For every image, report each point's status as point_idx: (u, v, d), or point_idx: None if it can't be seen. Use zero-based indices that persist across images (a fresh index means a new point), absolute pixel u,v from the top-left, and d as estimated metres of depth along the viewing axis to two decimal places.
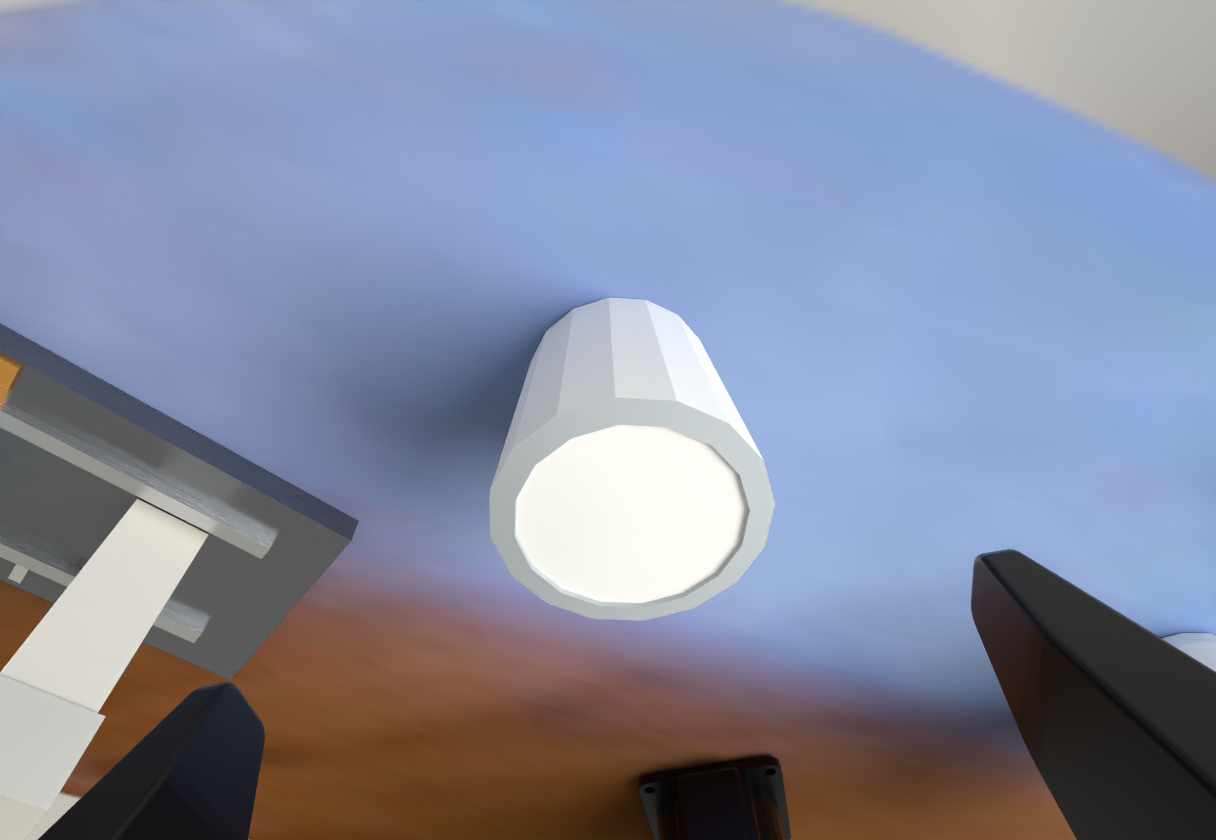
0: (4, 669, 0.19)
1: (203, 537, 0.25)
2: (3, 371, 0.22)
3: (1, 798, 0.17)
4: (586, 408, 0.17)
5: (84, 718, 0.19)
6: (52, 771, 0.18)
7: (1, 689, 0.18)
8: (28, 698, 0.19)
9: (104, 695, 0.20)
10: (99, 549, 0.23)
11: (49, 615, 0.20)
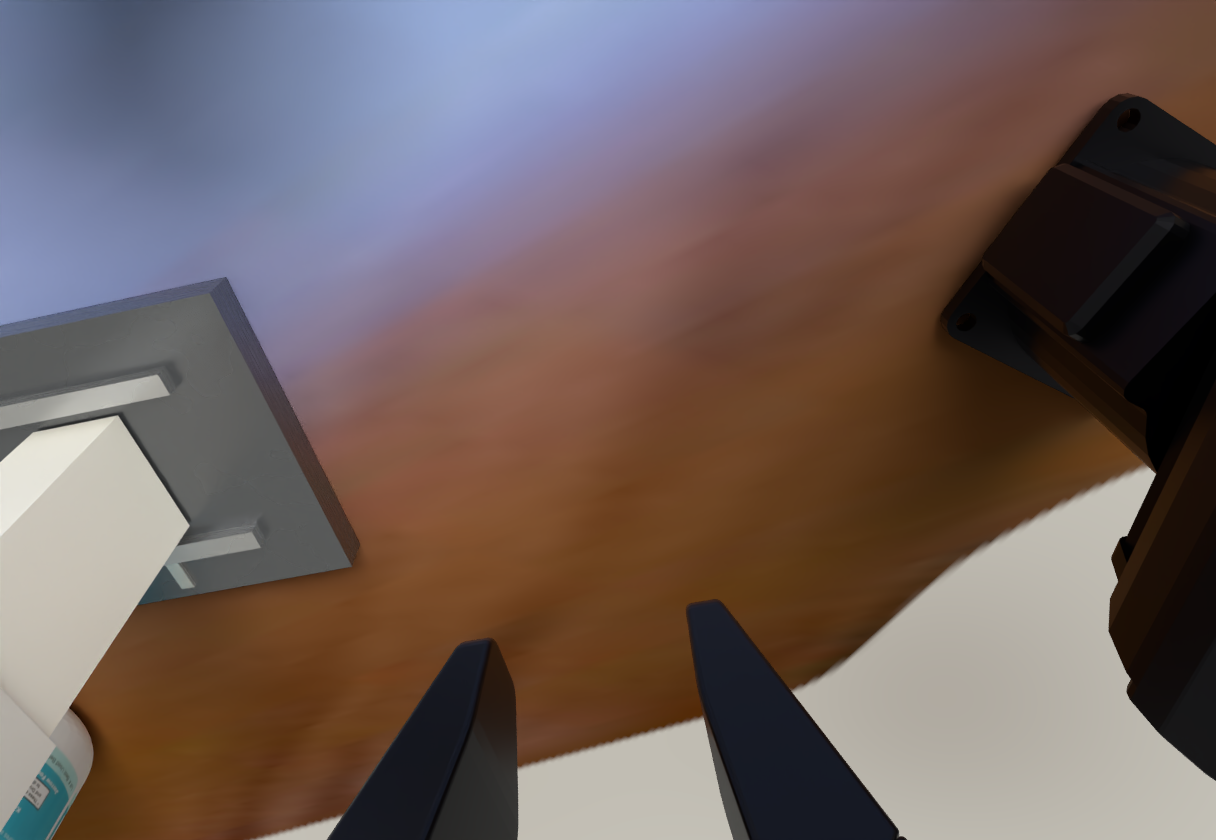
0: None
1: (110, 420, 0.20)
2: None
3: None
4: None
5: None
6: None
7: None
8: None
9: None
10: None
11: None
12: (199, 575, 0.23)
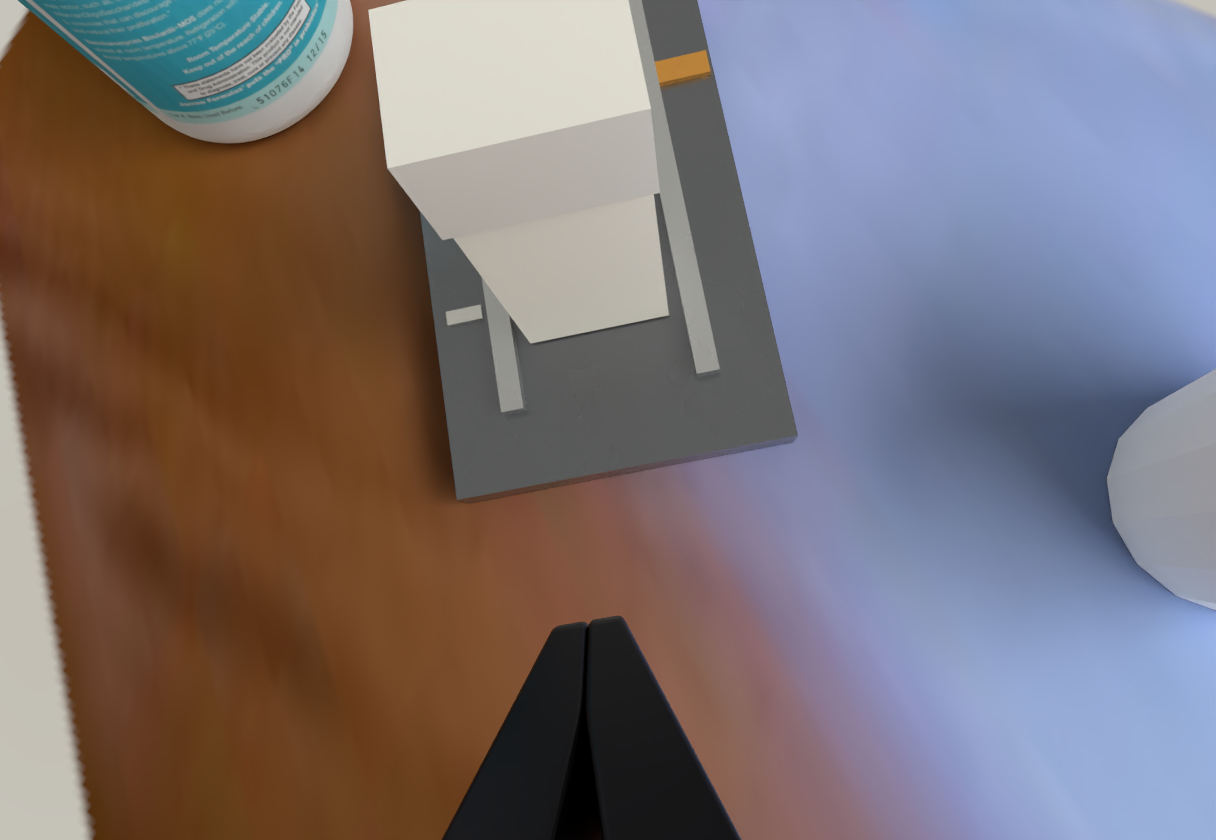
0: None
1: (667, 309, 0.20)
2: (696, 64, 0.22)
3: (629, 53, 0.11)
4: None
5: None
6: None
7: None
8: None
9: (653, 194, 0.14)
10: None
11: None
12: (460, 334, 0.21)
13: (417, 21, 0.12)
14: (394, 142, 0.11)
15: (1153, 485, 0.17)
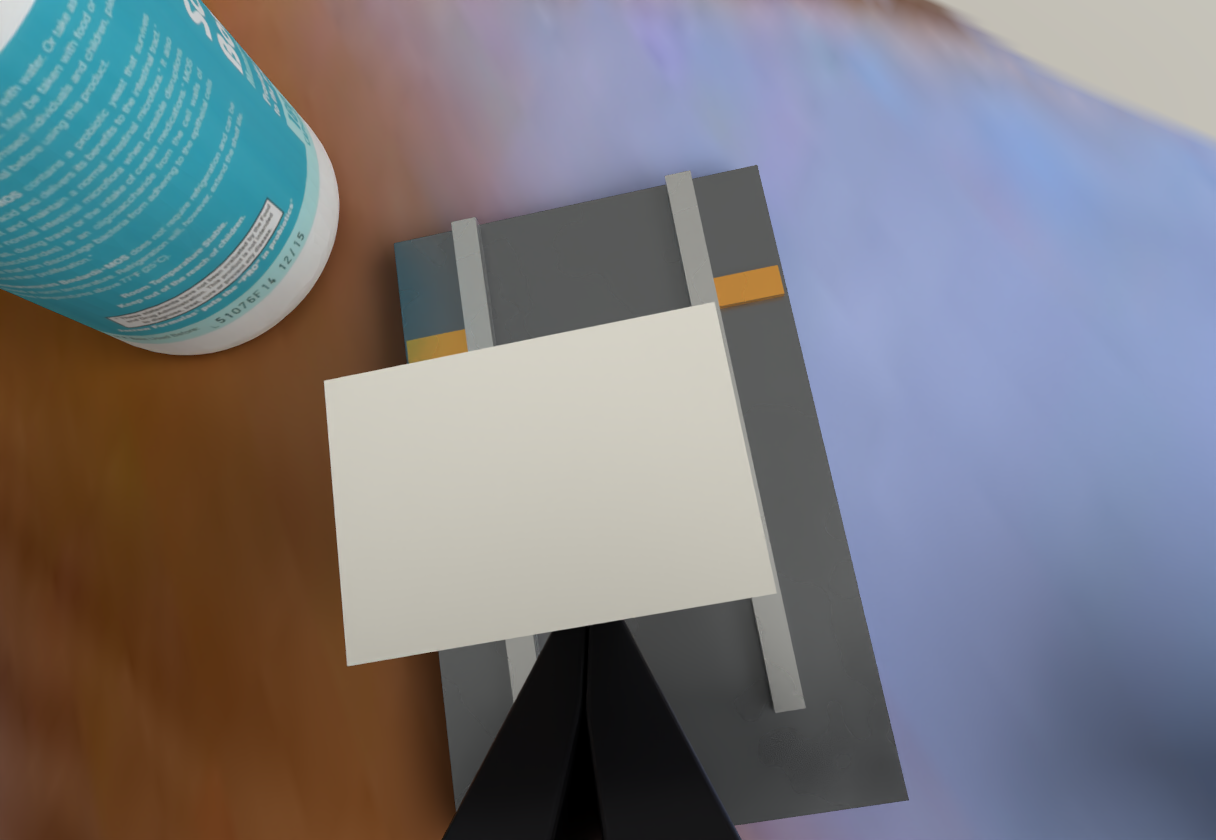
0: None
1: None
2: (766, 283, 0.17)
3: (738, 489, 0.07)
4: None
5: None
6: None
7: None
8: None
9: None
10: None
11: None
12: None
13: (399, 406, 0.08)
14: (359, 619, 0.07)
15: None
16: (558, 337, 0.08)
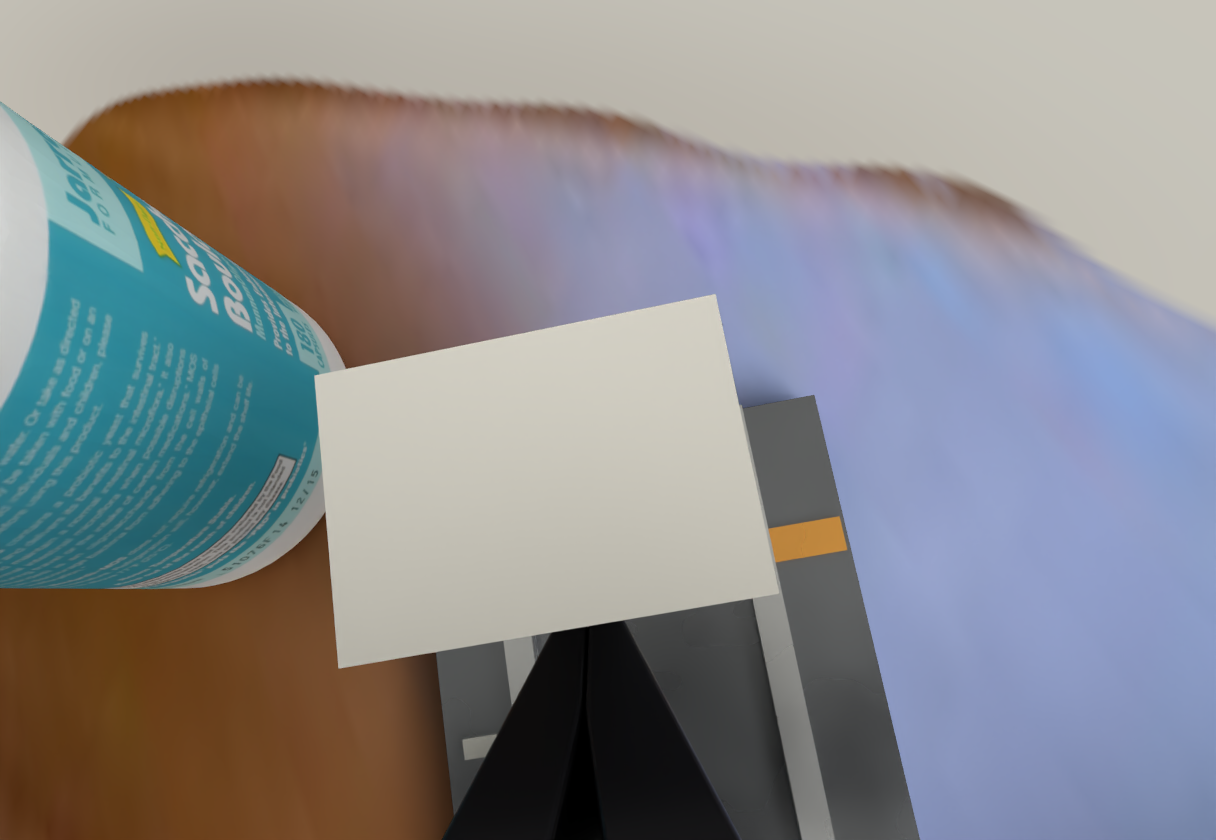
0: None
1: None
2: (827, 538, 0.16)
3: (740, 487, 0.07)
4: None
5: None
6: None
7: None
8: None
9: None
10: None
11: None
12: None
13: (391, 401, 0.07)
14: (351, 620, 0.07)
15: None
16: (553, 331, 0.07)
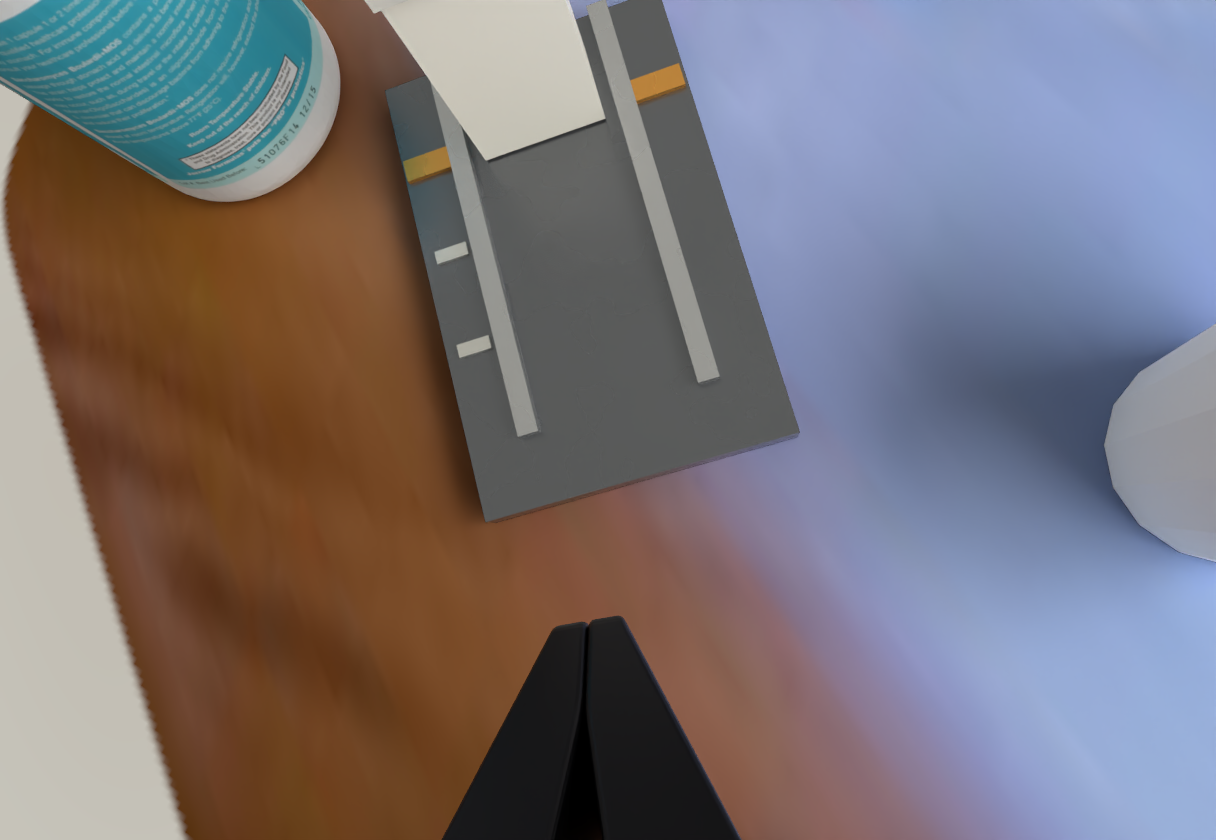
0: None
1: (603, 112, 0.22)
2: (671, 78, 0.22)
3: None
4: None
5: None
6: None
7: None
8: None
9: None
10: None
11: None
12: (472, 365, 0.22)
13: None
14: None
15: (1144, 453, 0.18)
16: None
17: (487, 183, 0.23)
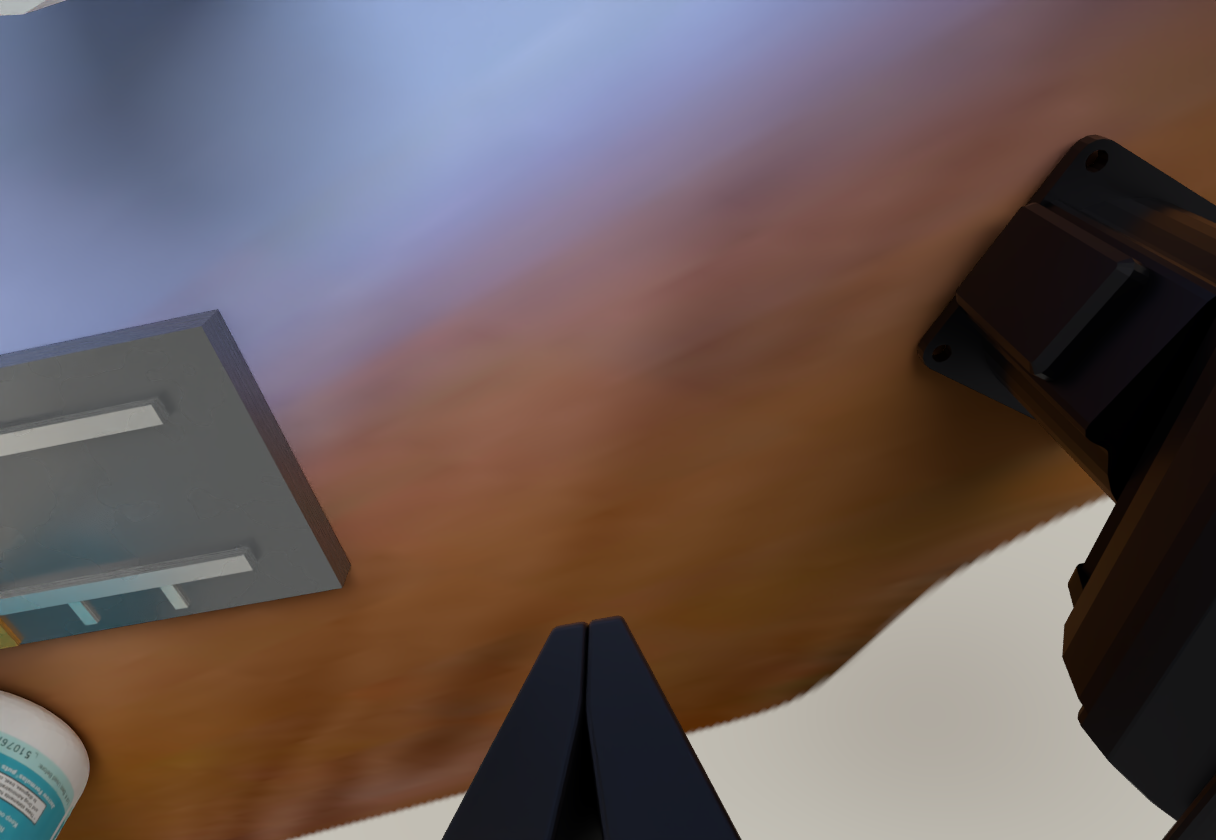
0: None
1: None
2: None
3: None
4: None
5: None
6: None
7: None
8: None
9: None
10: None
11: None
12: (193, 596, 0.23)
13: None
14: None
15: None
16: None
17: None
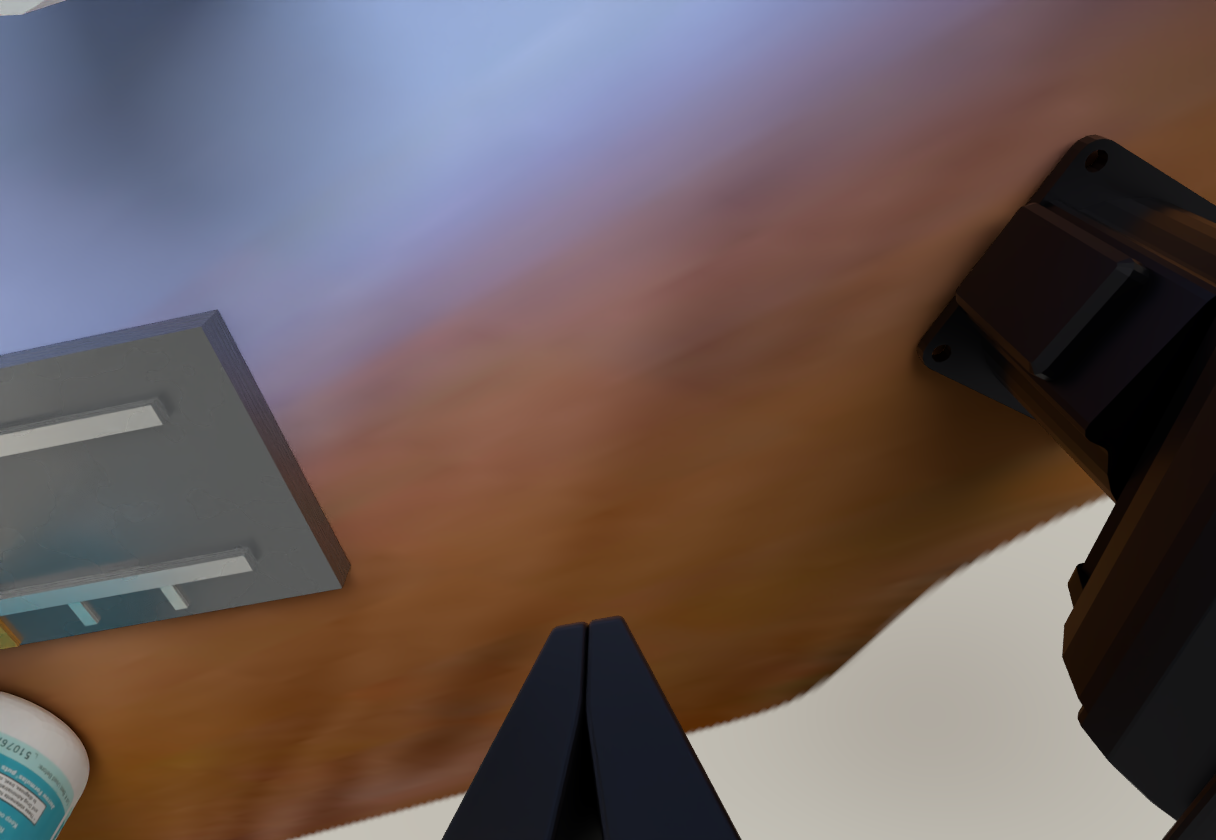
0: None
1: None
2: None
3: None
4: None
5: None
6: None
7: None
8: None
9: None
10: None
11: None
12: (193, 596, 0.23)
13: None
14: None
15: None
16: None
17: None
